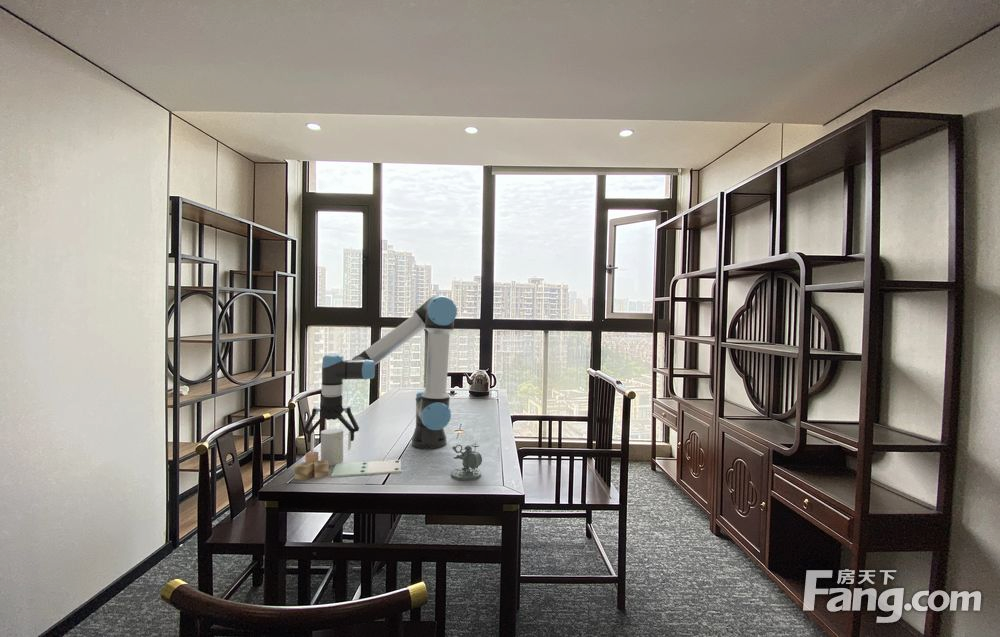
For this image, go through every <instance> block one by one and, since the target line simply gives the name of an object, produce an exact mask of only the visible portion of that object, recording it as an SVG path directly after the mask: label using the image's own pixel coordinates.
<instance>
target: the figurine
mask: <svg viewBox="0 0 1000 637" xmlns="http://www.w3.org/2000/svg"><path fill="white" fill-rule="evenodd" d="M458 447H460V450H457V448H458ZM473 447H474V449H476V448H477V447H480V444H477V442H474V444H473V443H472V444H471V445H466V446H465V447H464V448H463V445H462V444H456V445H455V446H452V447H451V448H452V450H453V451H454V452H455V453H456V457H455V456H454V457H453V459H456V460H458V459H459V460H462V466H463V467H458V468H455V469H453V470H452V471H451V478H452V479H453V480H456V481H461V482H471V481H476V480H478V479H480V478H481V477H482V471H481V470H480V469H479V467H480V466H481V465H482V463H483V457H482V454H480V452H478V451H475V450H473V449H472V448H473ZM459 453H460V454H459Z"/></svg>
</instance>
